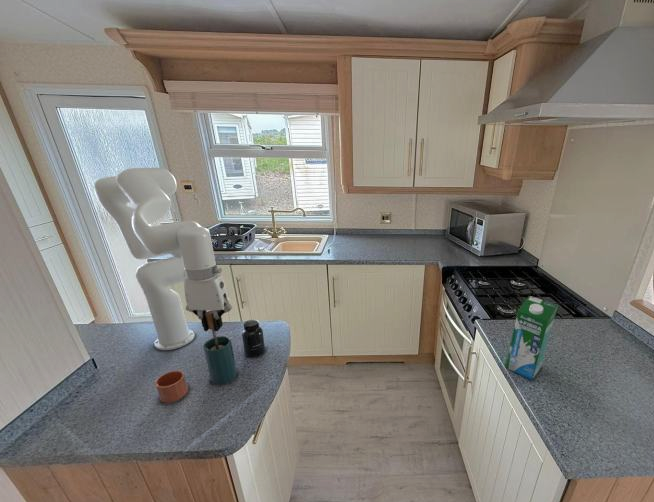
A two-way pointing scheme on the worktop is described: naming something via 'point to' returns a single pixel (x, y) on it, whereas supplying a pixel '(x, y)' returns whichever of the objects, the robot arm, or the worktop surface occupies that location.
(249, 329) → the supplement bottle
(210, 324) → the brush
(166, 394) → the cup
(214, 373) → the cup
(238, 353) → the worktop surface
